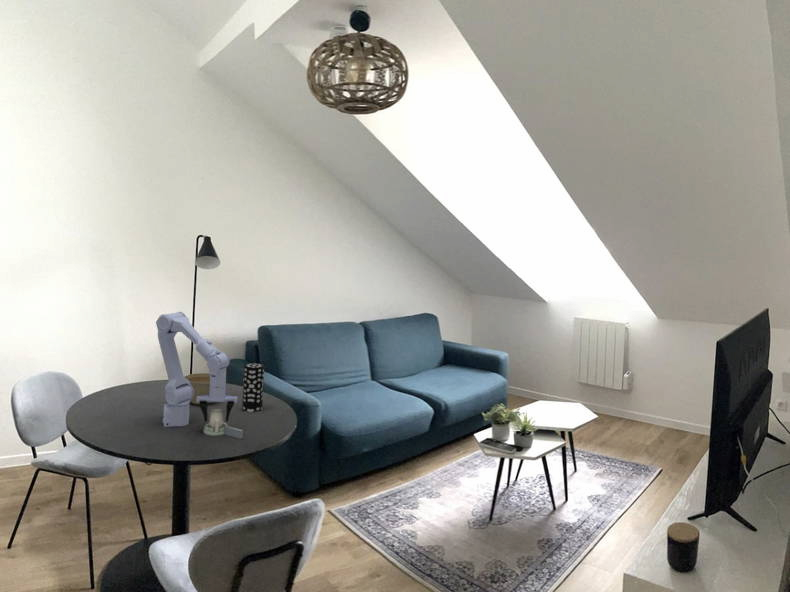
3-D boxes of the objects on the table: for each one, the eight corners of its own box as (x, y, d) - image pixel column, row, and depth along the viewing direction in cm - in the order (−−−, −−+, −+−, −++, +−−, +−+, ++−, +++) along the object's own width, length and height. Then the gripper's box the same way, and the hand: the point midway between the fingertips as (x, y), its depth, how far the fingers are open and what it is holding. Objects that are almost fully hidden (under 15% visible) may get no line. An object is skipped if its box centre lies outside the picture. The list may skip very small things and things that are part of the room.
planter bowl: (200, 409, 241) (201, 384, 240) (174, 401, 249) (175, 377, 248) (228, 401, 255) (229, 377, 254) (203, 394, 263) (204, 371, 262)
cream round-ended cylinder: (209, 426, 217) (209, 408, 217) (222, 425, 219) (223, 407, 218) (209, 433, 210) (210, 415, 210) (223, 432, 212) (224, 414, 211)
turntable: (203, 427, 218) (203, 420, 218) (240, 426, 223) (240, 418, 222) (203, 440, 205) (204, 432, 205) (242, 438, 210) (243, 431, 210)
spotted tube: (266, 411, 245) (268, 366, 242) (249, 415, 239) (251, 368, 236) (254, 406, 250) (256, 362, 248) (238, 410, 244) (240, 364, 242)
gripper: (238, 383, 219) (237, 417, 220) (199, 382, 216) (198, 416, 218) (236, 388, 212) (235, 423, 213) (196, 387, 209) (195, 423, 211)
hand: (216, 420), depth 215 cm, fingers open, 7 cm apart
